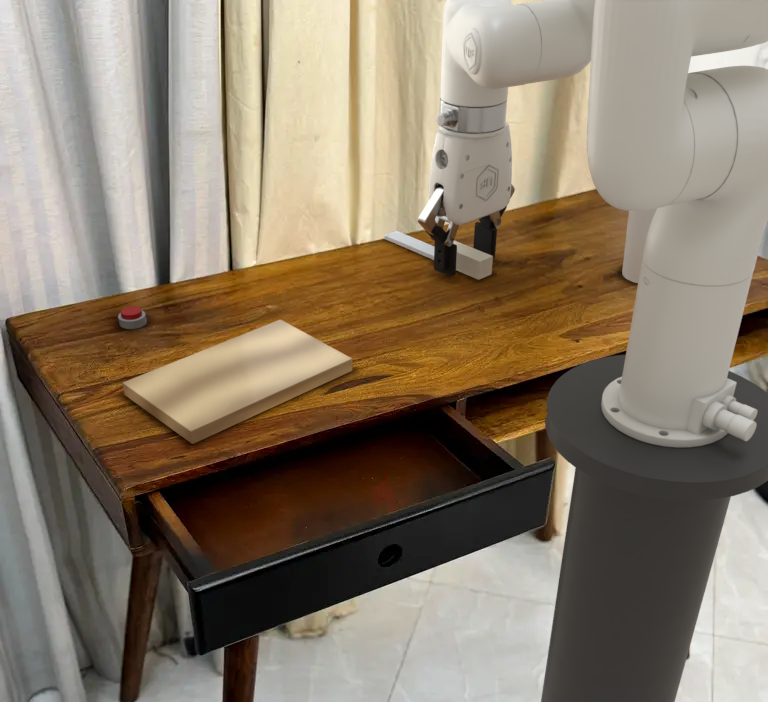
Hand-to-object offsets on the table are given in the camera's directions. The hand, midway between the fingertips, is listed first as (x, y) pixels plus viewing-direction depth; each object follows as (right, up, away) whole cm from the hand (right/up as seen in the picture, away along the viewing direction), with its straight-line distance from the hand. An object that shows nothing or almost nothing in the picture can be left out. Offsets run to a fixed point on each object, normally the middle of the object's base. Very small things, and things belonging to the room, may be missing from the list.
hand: (464, 263), depth 122 cm
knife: (-3, +2, +3) cm, 5 cm away
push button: (-38, -10, -11) cm, 41 cm away
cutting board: (-25, -18, -21) cm, 37 cm away
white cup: (+22, -2, -1) cm, 22 cm away
